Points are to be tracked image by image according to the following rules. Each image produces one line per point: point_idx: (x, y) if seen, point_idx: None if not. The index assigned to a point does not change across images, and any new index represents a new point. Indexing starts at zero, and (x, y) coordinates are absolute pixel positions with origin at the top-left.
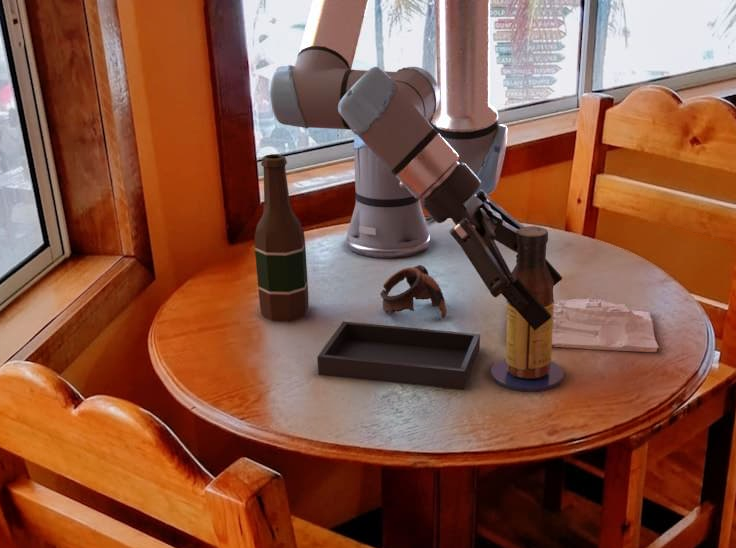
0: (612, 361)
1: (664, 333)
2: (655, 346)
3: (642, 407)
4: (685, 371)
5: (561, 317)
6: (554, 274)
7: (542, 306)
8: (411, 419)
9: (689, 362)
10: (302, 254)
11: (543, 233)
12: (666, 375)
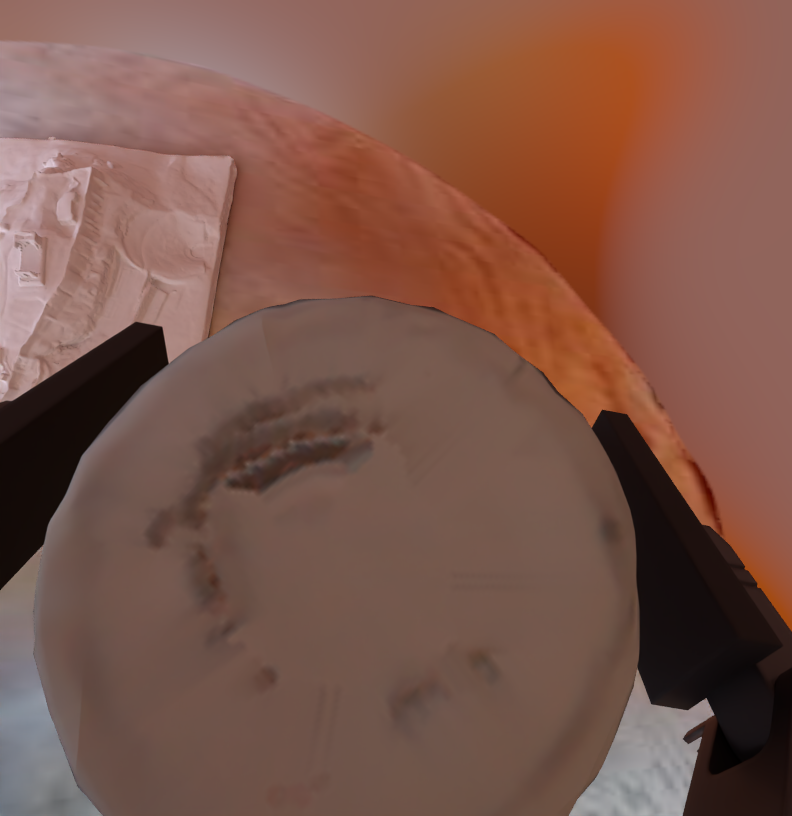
0: (283, 270)
1: (123, 132)
2: (226, 161)
3: (506, 244)
4: (333, 131)
5: (65, 364)
6: (138, 355)
7: (634, 449)
8: (626, 783)
9: (287, 114)
10: None
11: (507, 378)
12: (354, 171)
